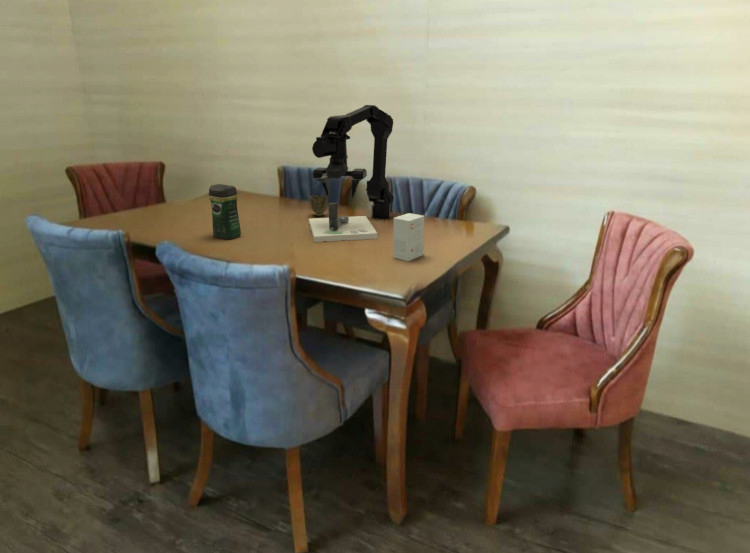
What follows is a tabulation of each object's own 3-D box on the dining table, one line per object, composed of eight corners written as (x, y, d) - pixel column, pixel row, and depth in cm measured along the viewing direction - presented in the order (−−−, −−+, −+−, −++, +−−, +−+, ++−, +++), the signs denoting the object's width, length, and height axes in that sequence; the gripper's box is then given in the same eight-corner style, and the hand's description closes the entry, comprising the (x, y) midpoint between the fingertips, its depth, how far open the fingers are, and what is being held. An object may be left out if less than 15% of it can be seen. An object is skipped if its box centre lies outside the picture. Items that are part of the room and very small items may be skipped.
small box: (408, 251, 187) (408, 212, 182) (423, 255, 183) (424, 215, 178) (392, 257, 181) (392, 217, 176) (408, 261, 177) (409, 220, 172)
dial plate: (365, 220, 224) (365, 215, 223) (377, 238, 201) (377, 232, 200) (309, 223, 220) (308, 218, 219) (314, 242, 197) (314, 236, 196)
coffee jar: (245, 235, 205) (240, 184, 198) (228, 241, 199) (223, 188, 192) (226, 231, 210) (221, 181, 204) (209, 236, 204) (203, 185, 198)
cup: (330, 213, 235) (329, 194, 232) (326, 218, 228) (326, 198, 225) (312, 213, 235) (311, 194, 233) (308, 218, 228) (307, 198, 226)
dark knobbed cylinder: (339, 220, 215) (339, 196, 212) (350, 220, 214) (349, 197, 210) (326, 229, 202) (325, 204, 199) (336, 230, 201) (336, 205, 198)
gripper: (305, 157, 196) (308, 201, 202) (358, 158, 192) (359, 203, 198) (316, 151, 206) (319, 194, 212) (366, 152, 202) (367, 195, 208)
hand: (340, 197), depth 207 cm, fingers open, 9 cm apart
